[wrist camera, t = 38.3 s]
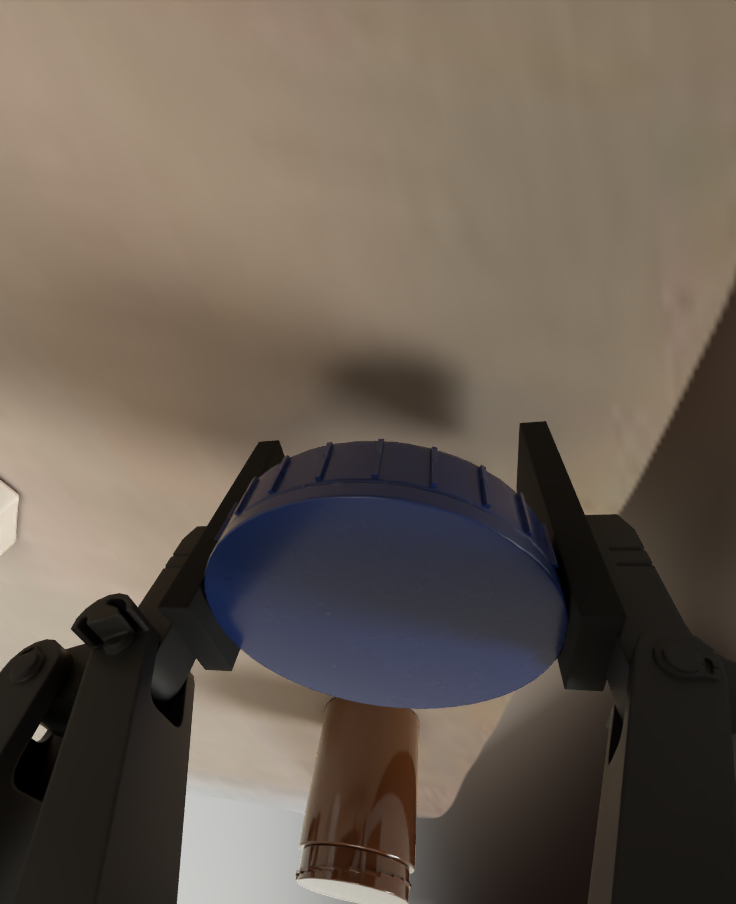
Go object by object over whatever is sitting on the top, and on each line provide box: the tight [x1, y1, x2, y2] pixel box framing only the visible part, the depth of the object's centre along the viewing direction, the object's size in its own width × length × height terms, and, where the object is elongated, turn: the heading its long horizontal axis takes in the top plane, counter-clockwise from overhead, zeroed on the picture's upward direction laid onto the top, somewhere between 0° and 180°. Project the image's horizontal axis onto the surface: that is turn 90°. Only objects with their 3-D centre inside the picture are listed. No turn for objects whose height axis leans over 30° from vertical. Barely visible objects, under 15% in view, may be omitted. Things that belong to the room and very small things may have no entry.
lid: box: [204, 439, 569, 709], centre depth 10 cm, size 8×8×2 cm
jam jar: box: [296, 697, 419, 904], centre depth 28 cm, size 7×7×9 cm
